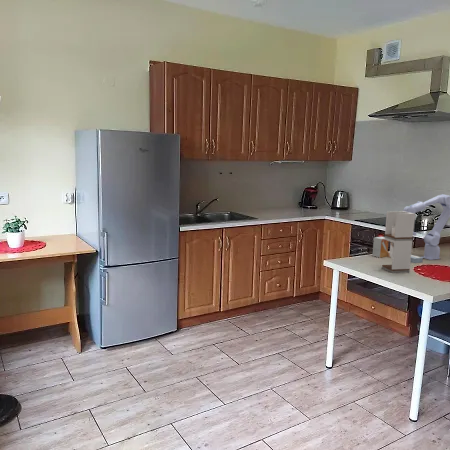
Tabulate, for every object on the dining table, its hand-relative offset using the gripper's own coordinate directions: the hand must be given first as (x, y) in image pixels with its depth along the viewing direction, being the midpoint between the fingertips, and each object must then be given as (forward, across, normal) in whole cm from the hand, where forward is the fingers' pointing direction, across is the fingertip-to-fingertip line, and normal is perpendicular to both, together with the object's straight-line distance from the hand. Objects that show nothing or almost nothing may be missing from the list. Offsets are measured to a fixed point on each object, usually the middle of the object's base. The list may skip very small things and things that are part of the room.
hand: (405, 244), depth 292 cm
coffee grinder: (+10, +24, -30) cm, 40 cm away
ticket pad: (+9, +7, -2) cm, 12 cm away
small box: (+10, -8, -14) cm, 19 cm away
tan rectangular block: (+9, -5, -7) cm, 13 cm away
